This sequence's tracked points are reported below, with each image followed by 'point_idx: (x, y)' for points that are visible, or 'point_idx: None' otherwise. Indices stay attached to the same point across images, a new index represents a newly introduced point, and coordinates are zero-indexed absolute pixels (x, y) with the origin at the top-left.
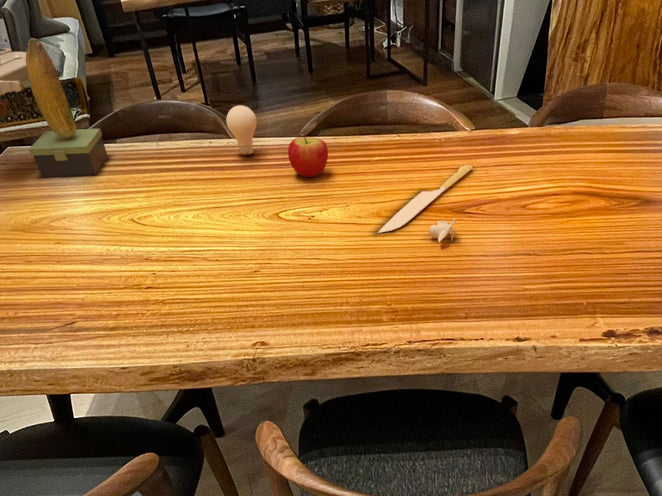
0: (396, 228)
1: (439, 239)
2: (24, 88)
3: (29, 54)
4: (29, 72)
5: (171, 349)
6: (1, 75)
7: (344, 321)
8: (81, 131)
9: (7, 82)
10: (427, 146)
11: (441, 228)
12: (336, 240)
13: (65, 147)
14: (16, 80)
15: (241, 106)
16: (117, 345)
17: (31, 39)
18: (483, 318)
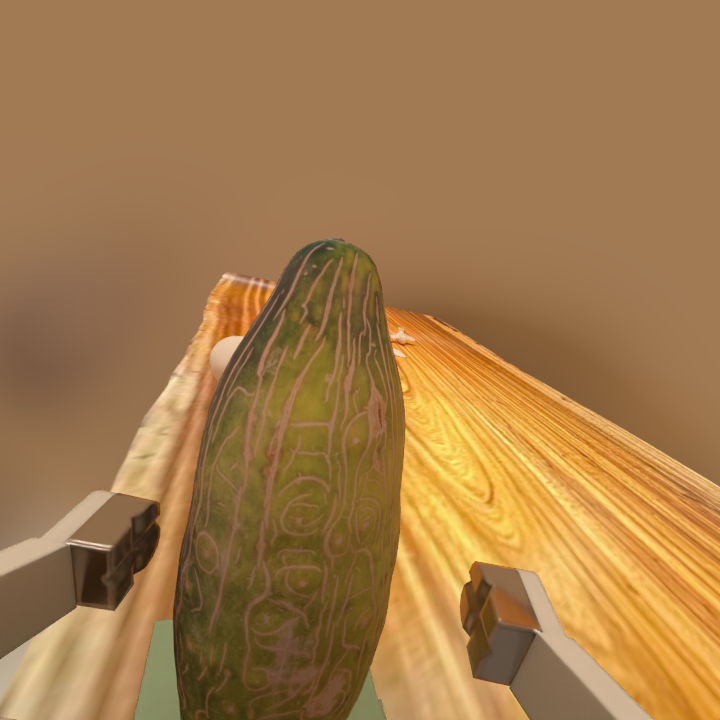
0: (399, 351)
1: (412, 340)
2: (460, 602)
3: (394, 357)
4: (399, 492)
5: (619, 432)
6: None
7: (512, 375)
8: (172, 704)
9: (588, 656)
10: (236, 325)
11: (404, 335)
12: (427, 371)
13: (372, 680)
14: (503, 592)
15: (239, 336)
16: (657, 459)
17: (355, 246)
18: (469, 346)
